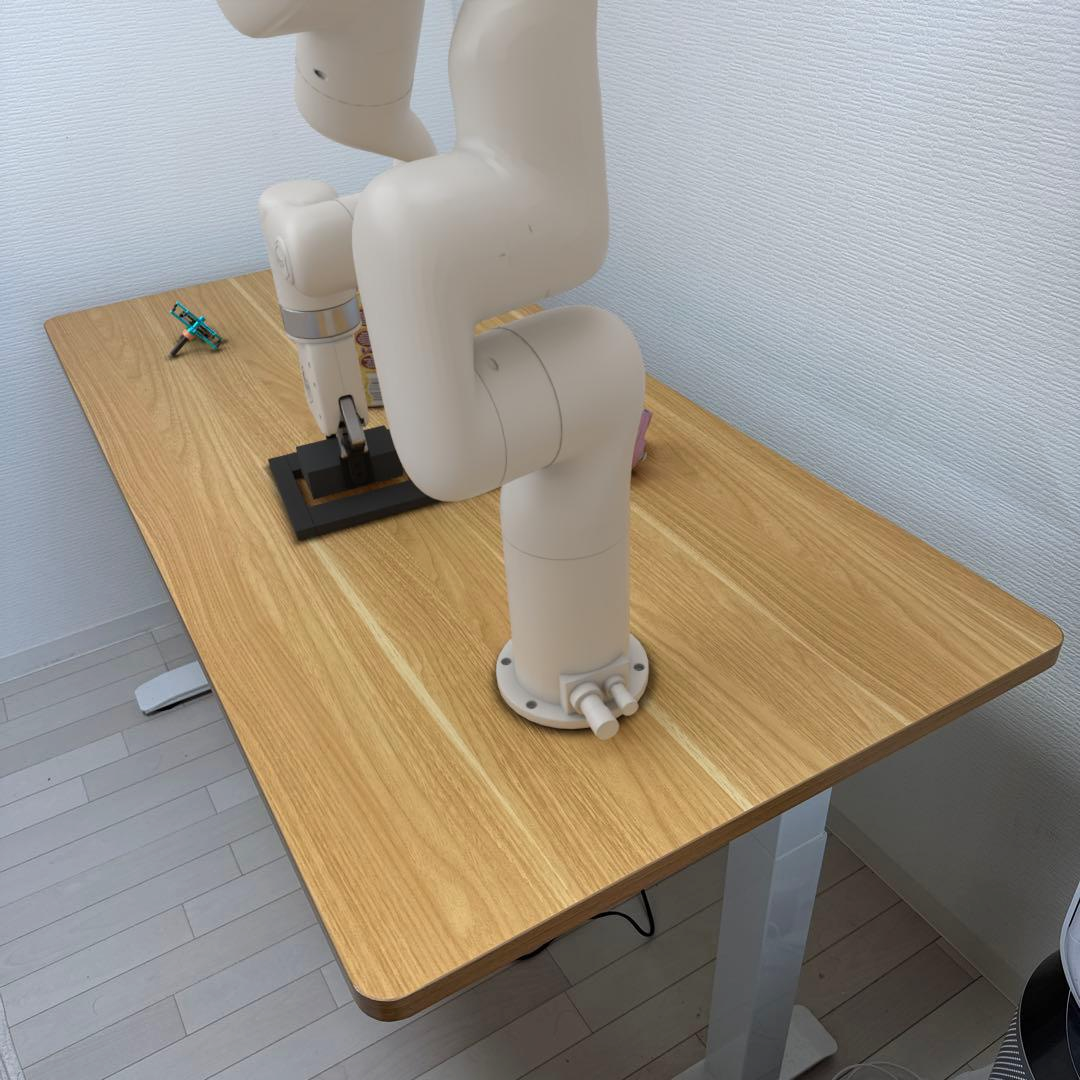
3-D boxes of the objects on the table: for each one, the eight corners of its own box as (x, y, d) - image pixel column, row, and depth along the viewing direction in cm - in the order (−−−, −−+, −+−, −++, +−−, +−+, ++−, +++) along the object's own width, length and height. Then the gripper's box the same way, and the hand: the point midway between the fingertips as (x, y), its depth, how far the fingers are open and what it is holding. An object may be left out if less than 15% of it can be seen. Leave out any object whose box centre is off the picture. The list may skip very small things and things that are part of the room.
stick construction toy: (229, 338, 135) (182, 299, 131) (196, 376, 134) (148, 338, 131) (221, 331, 145) (177, 295, 142) (190, 367, 145) (146, 331, 141)
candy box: (398, 406, 120) (380, 289, 111) (364, 408, 120) (343, 291, 111) (404, 374, 127) (387, 262, 119) (372, 376, 128) (352, 264, 119)
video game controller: (623, 498, 104) (654, 450, 99) (586, 480, 103) (614, 430, 99) (635, 451, 111) (663, 404, 107) (599, 434, 111) (626, 386, 107)
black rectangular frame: (499, 485, 104) (498, 476, 103) (298, 541, 98) (295, 531, 97) (451, 422, 116) (450, 413, 116) (269, 467, 110) (267, 458, 109)
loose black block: (404, 476, 105) (399, 449, 103) (313, 500, 102) (307, 472, 100) (388, 450, 109) (384, 424, 107) (301, 473, 106) (295, 446, 104)
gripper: (267, 293, 100) (302, 442, 111) (301, 356, 87) (337, 519, 98) (338, 279, 102) (365, 427, 113) (381, 338, 89) (407, 500, 100)
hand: (352, 468), depth 105 cm, fingers closed on loose black block, 5 cm apart
